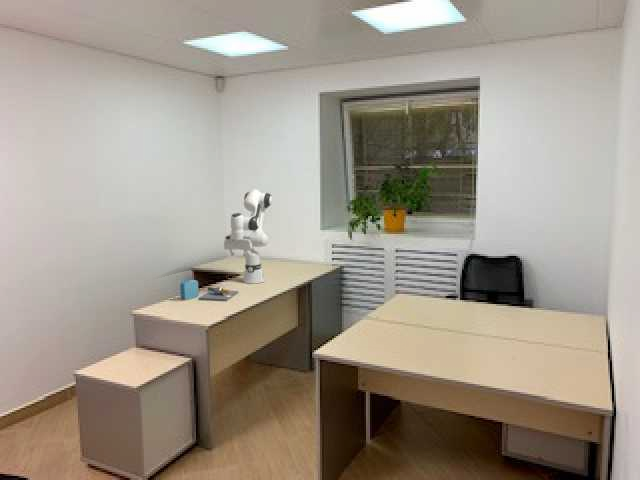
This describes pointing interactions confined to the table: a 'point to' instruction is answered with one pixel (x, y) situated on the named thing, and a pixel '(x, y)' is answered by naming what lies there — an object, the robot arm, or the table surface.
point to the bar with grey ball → (218, 290)
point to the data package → (189, 289)
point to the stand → (218, 296)
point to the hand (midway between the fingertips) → (238, 255)
